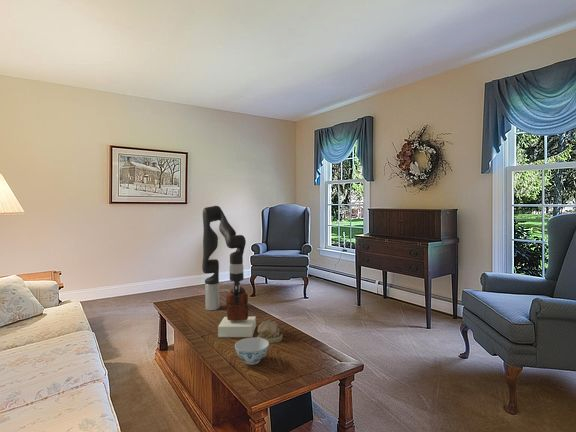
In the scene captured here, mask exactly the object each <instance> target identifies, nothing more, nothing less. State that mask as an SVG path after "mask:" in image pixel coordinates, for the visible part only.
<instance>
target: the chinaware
mask: <svg viewBox="0 0 576 432" xmlns="http://www.w3.org/2000/svg"><path fill="white" fill-rule="evenodd" d="M269 347H270V343H269V342H268V341H267V340H265V339H263V338H257V337H244V338H243V339H239V340H238V341H237V342H235V344H234V348H235V352H236V354H237V356H238V357H239V358H240V359H241V360H242V361H243V362H244V363H245V364H247V365H254V366H255V365H257V364H258V363H260V361H261V360H262V359H264V357H265V356H266V354H267V353H268V349H269Z"/></svg>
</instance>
